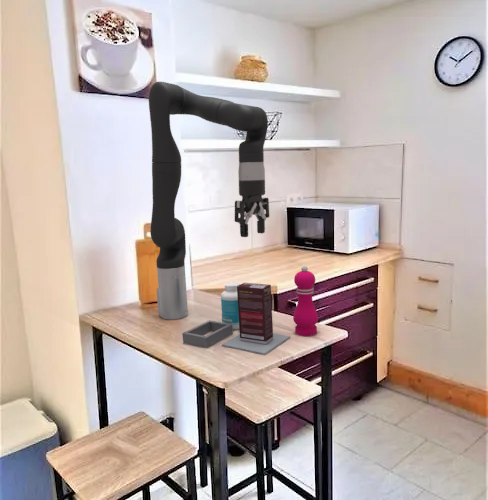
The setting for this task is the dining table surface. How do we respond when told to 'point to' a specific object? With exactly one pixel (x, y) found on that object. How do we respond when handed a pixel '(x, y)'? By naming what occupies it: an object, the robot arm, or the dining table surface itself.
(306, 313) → the pepper mill
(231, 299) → the pill bottle
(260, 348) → the slate mat
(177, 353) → the dining table surface
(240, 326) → the supplement box
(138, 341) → the dining table surface
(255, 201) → the robot arm
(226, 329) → the gray rectangular frame
